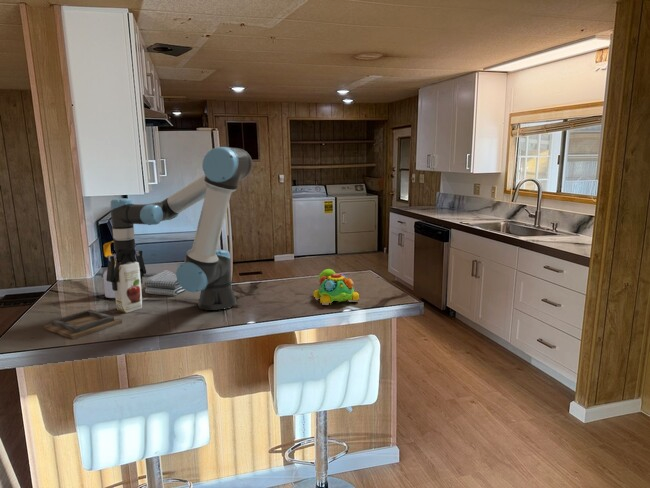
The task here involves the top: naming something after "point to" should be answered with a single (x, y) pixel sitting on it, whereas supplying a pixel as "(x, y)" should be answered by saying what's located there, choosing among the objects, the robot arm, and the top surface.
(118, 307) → the juice carton
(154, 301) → the top surface
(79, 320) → the base plate
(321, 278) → the turtle toy
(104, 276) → the soap bottle
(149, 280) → the towel
